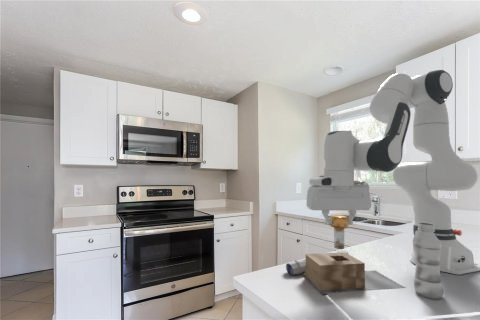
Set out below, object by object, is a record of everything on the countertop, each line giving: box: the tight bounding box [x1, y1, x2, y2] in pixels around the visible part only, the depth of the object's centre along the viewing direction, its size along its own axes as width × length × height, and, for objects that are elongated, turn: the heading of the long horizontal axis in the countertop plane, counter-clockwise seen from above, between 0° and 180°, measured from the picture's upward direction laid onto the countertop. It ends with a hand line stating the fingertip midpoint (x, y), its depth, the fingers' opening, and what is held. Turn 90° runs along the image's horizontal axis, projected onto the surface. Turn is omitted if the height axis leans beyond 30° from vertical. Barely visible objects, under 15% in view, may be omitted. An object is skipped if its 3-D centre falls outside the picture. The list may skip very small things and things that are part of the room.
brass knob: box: [329, 214, 350, 250], centre depth 77 cm, size 5×5×10 cm
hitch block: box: [303, 252, 406, 296], centre depth 77 cm, size 26×13×8 cm, turn 99°
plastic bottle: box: [411, 223, 444, 301], centre depth 69 cm, size 6×7×20 cm
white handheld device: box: [285, 249, 349, 276], centre depth 87 cm, size 5×7×25 cm
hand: (339, 224), depth 78 cm, fingers closed on brass knob, 5 cm apart
